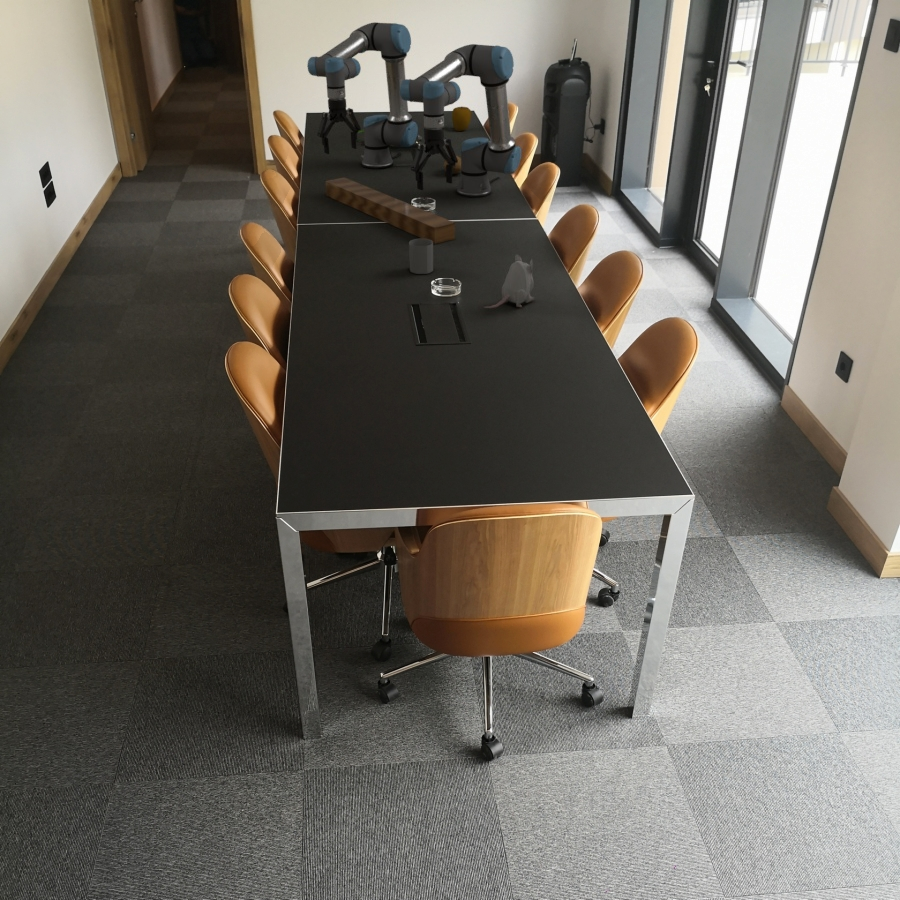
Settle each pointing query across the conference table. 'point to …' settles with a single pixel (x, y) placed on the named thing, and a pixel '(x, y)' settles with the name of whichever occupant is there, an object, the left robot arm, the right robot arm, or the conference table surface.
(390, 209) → the wide beam
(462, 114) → the yellow bell pepper
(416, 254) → the cup
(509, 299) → the toy
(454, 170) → the potato
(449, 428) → the conference table surface
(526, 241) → the conference table surface
